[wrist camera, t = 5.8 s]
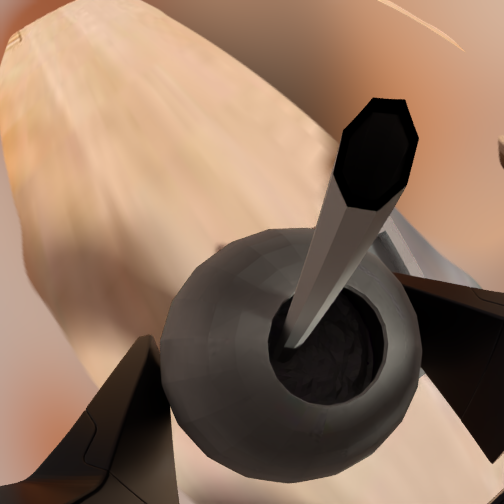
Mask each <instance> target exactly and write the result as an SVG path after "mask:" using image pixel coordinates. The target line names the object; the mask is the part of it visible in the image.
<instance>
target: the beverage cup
mask: <svg viewBox="0 0 504 504" xmlns="http://www.w3.org/2000/svg"><path fill="white" fill-rule="evenodd" d="M418 140H419V137H418V135H417V132H416V129H415V127H414V124H413V121H412V118H411V115H410V113H409V110H408V107H407V104H406V100H404V99H403V100H402V99H383V98H372V99H371V101H370V102H369V103H368V104H367V105H366V106H365V108H364V109H363V110H362V111H361V112H360V113H359V114H358V115H357V116H356V118H354V120H353V121H352V122H351V123H350V124H349V125H348V126H347V127H346V128H345V129H344V130H343V133H342V136H341V140H340V144H339V148H338V151H337V155H336V159H335V163H334V166H333V170H332V173H331V177H330V180H329V184H328V188H327V191H326V194H325V198H324V201H323V205H322V208H321V211H320V215H319V218H318V221H317V225H316V228H315V229H311V228H289V229H268V230H265V231H262V232H259V233H257V234H254V235H251V236H248V237H245V238H242V239H239V240H236V241H233V242H231V243H229V244H228V245H226V246H225V247H224V248H222V249H221V250H220V251H218V252H217V253H216V254H214V255H213V256H211V257H210V258H209V259H207V260H206V261H205V262H203V263H202V264H201V265H199V266H198V267H197V268H196V269H195V270H194V271H193V273H192V274H191V276H190V277H189V278H188V280H187V281H186V283H185V284H184V285H183V287H182V288H181V290H180V291H179V292H178V294H177V295H176V297H175V298H174V299H173V301H172V304H171V307H170V310H169V313H168V316H167V320H166V323H165V326H164V330H163V333H162V336H161V340H160V361H161V382H162V387H163V389H164V392H165V394H166V397H167V399H168V402H169V404H170V407H171V409H172V412H173V414H174V416H175V419H176V421H177V423H178V425H179V426H180V427H181V428H182V429H183V430H184V432H185V433H186V434H187V435H188V436H189V437H190V438H191V439H192V441H193V442H194V443H195V444H196V445H197V446H198V447H199V448H200V449H201V450H202V451H203V452H204V454H205V455H206V456H207V457H209V458H211V459H212V460H214V461H216V462H218V463H220V464H222V465H223V466H225V467H227V468H229V469H231V470H233V471H235V472H237V473H239V474H241V475H243V476H245V477H248V478H254V479H260V480H267V481H274V482H281V483H297V482H302V481H308V480H313V479H318V478H323V477H328V476H332V475H336V474H338V473H340V472H342V471H344V470H346V469H347V468H349V467H351V466H353V465H355V464H356V463H358V462H360V461H361V460H363V459H365V458H367V457H368V456H370V455H372V454H373V453H374V452H375V450H376V449H377V448H378V447H379V446H380V445H381V444H382V443H383V442H384V441H385V440H386V439H387V438H388V437H389V435H390V434H391V433H392V432H393V431H394V430H395V429H396V428H397V426H398V425H399V424H400V423H401V422H402V420H403V418H404V416H405V414H406V412H407V409H408V407H409V405H410V403H411V401H412V399H413V396H414V394H415V392H416V389H417V387H418V381H419V374H420V366H421V358H422V345H421V338H420V332H419V326H418V320H417V315H416V313H415V310H414V308H413V306H412V304H411V302H410V300H409V298H408V296H407V294H406V292H405V290H404V288H403V286H402V284H401V282H400V281H399V280H398V279H397V278H396V277H395V275H394V274H393V273H392V272H391V271H390V270H389V269H388V268H387V267H386V265H385V264H384V263H383V262H382V261H381V260H380V259H379V258H378V257H377V256H376V255H374V254H372V253H371V252H369V251H368V249H369V248H370V246H371V245H372V243H373V241H374V240H375V238H376V237H377V235H378V233H379V232H380V230H381V228H382V227H383V225H384V223H385V222H386V220H387V218H388V217H389V215H390V213H391V212H392V210H393V208H394V207H395V205H396V203H397V202H398V200H399V198H400V196H401V194H402V193H403V191H404V189H405V187H406V185H407V183H408V179H409V175H410V171H411V167H412V163H413V160H414V156H415V152H416V148H417V144H418Z"/></svg>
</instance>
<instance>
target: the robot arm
mask: <svg viewBox="0 0 504 504" xmlns="http://www.w3.org/2000/svg"><path fill="white" fill-rule="evenodd" d="M392 273H393V274H394V275H395V277H396V278H397V279H398V280H399V281H400V282H401V284H402V286H403V288H404V290H405V292H406V294H407V296H408V298H409V300H410V302H411V304H412V306H413V308H414V310H415V313H416V315H417V320H418V326H419V332H420V338H421V345H422V358H421V366H420V367H421V368H422V369H423V371H424V372H425V373H426V375H427V376H428V377H429V378H430V380H431V381H432V382H433V384H434V385H435V386H436V388H437V389H438V390H439V391H440V393H441V394H442V395H443V397H444V398H445V399H446V401H447V402H448V403H449V405H450V406H451V407H452V409H453V410H454V411H455V413H456V414H457V416H458V417H459V418H460V419H461V421H462V423H463V424H464V425H465V427H466V428H467V430H468V431H469V432H470V434H471V435H472V437H473V438H474V440H475V441H476V442H477V444H478V445H479V447H480V448H481V450H482V451H483V452H484V454H485V455H486V457H487V458H488V460H489V461H490V462H491V463H492V464H493V463H494V462H495V461H496V460H497V459H498V458H499V457H500V456H501V455H502V454H504V293H501V292H494V291H488V290H483V289H478V288H473V287H471V288H470V287H467V286H462V285H457V284H452V283H447V282H442V281H437V280H432V279H427V278H421V277H416V276H411V275H406V274H401V273H396V272H392ZM0 504H179V497H178V489H177V481H176V472H175V462H174V452H173V440H172V427H171V412H170V404H169V402H168V399H167V397H166V394H165V392H164V389H163V387H162V382H161V361H160V352H159V350H158V347H157V345H156V342H155V340H154V338H153V336H152V335H146V336H141V337H139V338H138V339H137V340H136V341H135V343H134V344H133V345H132V347H131V348H130V349H129V351H128V352H127V353H126V355H125V356H124V357H123V359H122V360H121V361H120V363H119V364H118V365H117V367H116V368H115V369H114V371H113V372H112V373H111V375H110V376H109V377H108V379H107V380H106V381H105V383H104V384H103V386H102V387H101V388H100V390H99V391H98V392H97V394H96V395H95V397H94V398H93V400H92V401H91V402H90V404H89V405H88V406H87V408H86V410H85V411H84V412H83V413H82V415H81V416H80V417H79V419H78V420H77V421H76V423H75V424H74V425H73V427H72V428H71V430H70V431H69V432H68V433H67V435H66V436H65V437H64V438H63V439H62V441H61V442H60V443H59V444H58V445H57V447H56V448H55V449H54V450H53V451H52V452H51V454H50V455H49V456H48V457H47V458H46V459H45V461H44V462H43V463H42V464H41V465H40V466H39V468H38V469H37V470H36V471H35V472H34V473H33V474H32V475H31V476H30V477H28V478H27V479H25V480H23V481H20V482H18V483H14V484H9V485H4V486H0ZM488 504H504V488H503V489H502V490H501V491H500V492H499V493H498V494H497V495H496V496H495V497H494V498H493V499H492V500H491V501H490V502H489V503H488Z"/></svg>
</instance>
